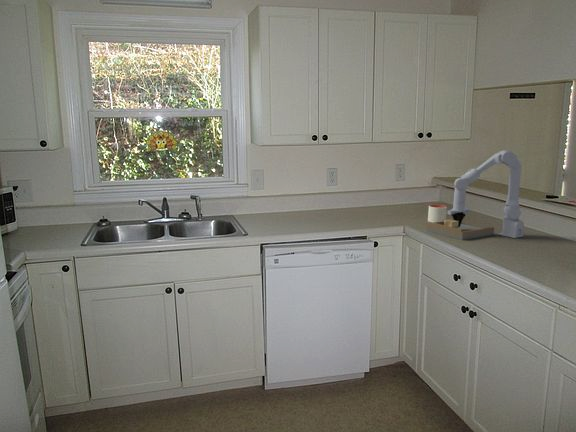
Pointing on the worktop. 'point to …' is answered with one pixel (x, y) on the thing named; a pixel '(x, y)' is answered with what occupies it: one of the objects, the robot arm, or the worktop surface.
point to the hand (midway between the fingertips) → (457, 226)
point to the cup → (437, 213)
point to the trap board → (459, 230)
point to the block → (451, 223)
